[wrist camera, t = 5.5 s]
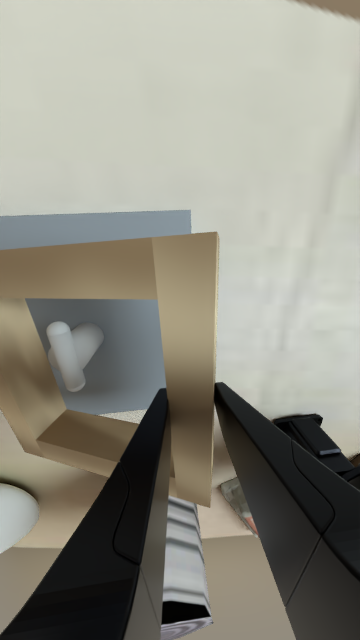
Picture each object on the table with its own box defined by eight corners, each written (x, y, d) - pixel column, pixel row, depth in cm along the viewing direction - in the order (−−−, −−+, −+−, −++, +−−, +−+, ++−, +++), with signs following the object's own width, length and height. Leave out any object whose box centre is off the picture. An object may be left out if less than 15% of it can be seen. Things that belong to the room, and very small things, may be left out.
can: (183, 432, 22) (204, 617, 11) (198, 482, 26) (224, 652, 15) (97, 453, 22) (28, 660, 11) (126, 499, 26) (97, 683, 15)
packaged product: (228, 525, 23) (298, 498, 22) (217, 480, 27) (275, 456, 26) (265, 567, 29) (321, 547, 28) (251, 525, 33) (299, 507, 33)
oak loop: (212, 457, 11) (210, 507, 9) (55, 421, 14) (25, 451, 12) (219, 239, 6) (216, 231, 4) (-15, 256, 10) (-85, 257, 7)
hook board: (192, 393, 20) (203, 442, 14) (48, 408, 19) (4, 467, 13) (187, 214, 13) (203, 187, 8) (-32, 222, 12) (-177, 197, 7)
